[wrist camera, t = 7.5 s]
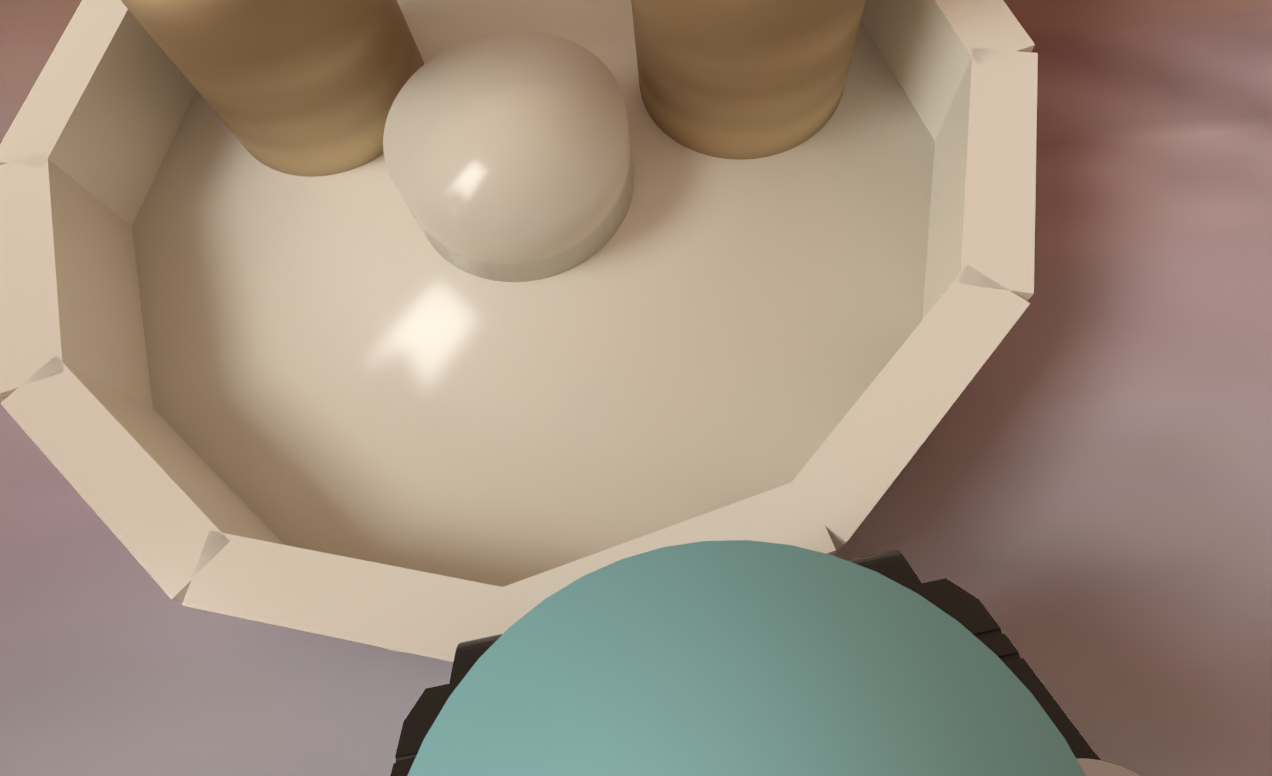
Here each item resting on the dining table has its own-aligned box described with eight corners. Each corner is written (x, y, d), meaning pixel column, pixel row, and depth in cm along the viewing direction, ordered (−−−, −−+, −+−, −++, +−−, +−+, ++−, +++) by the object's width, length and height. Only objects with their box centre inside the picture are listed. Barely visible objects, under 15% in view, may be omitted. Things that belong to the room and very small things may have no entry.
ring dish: (950, 764, 14) (1034, 791, 10) (-33, 559, 17) (-223, 527, 13) (989, -63, 21) (1047, -211, 17) (289, -111, 24) (219, -247, 20)
